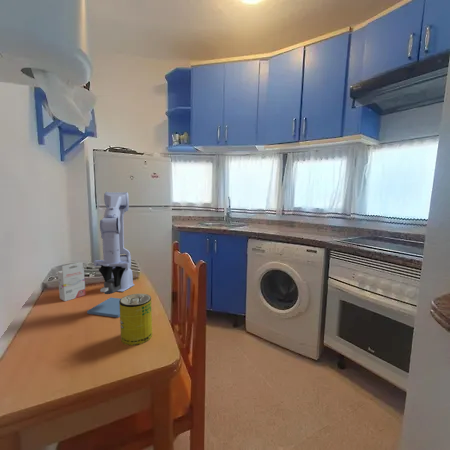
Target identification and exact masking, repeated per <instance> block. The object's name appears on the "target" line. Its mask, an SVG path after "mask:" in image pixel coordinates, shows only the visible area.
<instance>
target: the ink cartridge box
mask: <svg viewBox="0 0 450 450" xmlns="http://www.w3.org/2000/svg"><path fill="white" fill-rule="evenodd" d="M61 268H62V269H61V270H60V271H57V280H58V282H57V283H58V293H59V299H60V300H62V301H64V302H68V301H70V300H73V299H78V298H81V297H84V296H86V282H85V281H86V280H85V269H84V263H83V262H82V261H81V262H76V263H75V262H74V263H70V264H66V265H62V266H61Z"/></svg>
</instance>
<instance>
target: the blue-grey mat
mask: <svg viewBox="0 0 450 450" xmlns="http://www.w3.org/2000/svg"><path fill="white" fill-rule="evenodd" d="M120 299H121V298H118V297H108V298H107V299H106V300H104V301H102V302H100V303H98V304H97V305H95V306H93V307H92V308H90V309H88V310H87V311H86V314H88V315H96V316H101V317H102V316H103V317H111V318H117V319H118V318H119V319H120V305H119V301H120Z"/></svg>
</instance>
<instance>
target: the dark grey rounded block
mask: <svg viewBox="0 0 450 450" xmlns="http://www.w3.org/2000/svg"><path fill="white" fill-rule="evenodd" d="M119 289H121V282H120V285H119V286H117V287H115V284H114V278H112V279H110V280H108V281H106V282H105V281H104V282H103V287H102V288H100V293H104V294H105V295H112V294H114V293H116V292H119V291H118V290H119Z"/></svg>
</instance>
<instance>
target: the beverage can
mask: <svg viewBox="0 0 450 450" xmlns="http://www.w3.org/2000/svg"><path fill="white" fill-rule="evenodd" d="M119 305H120V317H119V323H120V325H119V326H120V340H121V343H122V344H123V345H126V346H139V345H143V344H144V343H147V342H149V341H150V340H151V339H152V338H153V319H152V318H153V317H152V316H153V315H152V314H153V313H152V312H153V311H152V310H153V309H152V297H151V295H149V294H147V293H133V294H127V295H126V296H122V297H121V298H120V301H119Z"/></svg>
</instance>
